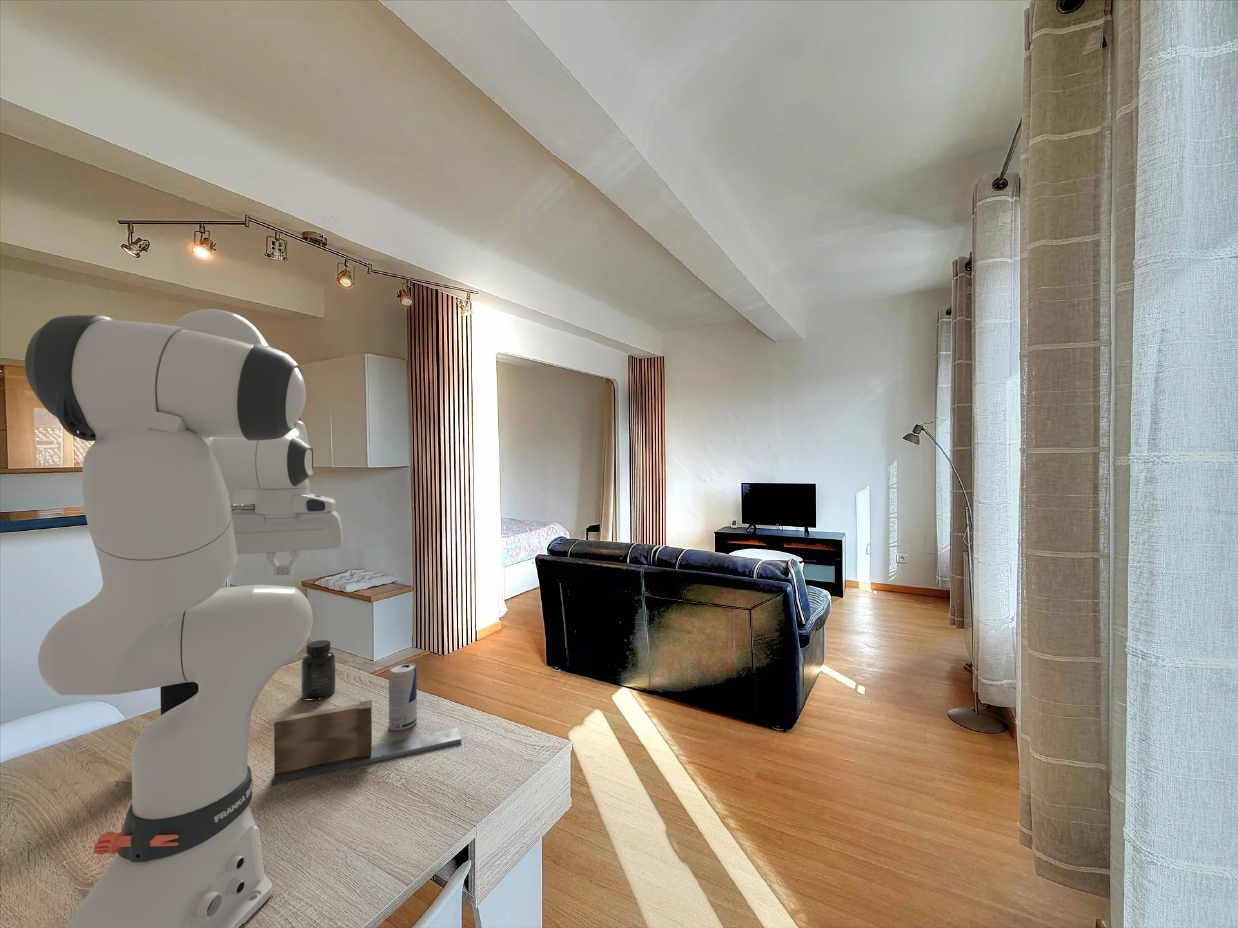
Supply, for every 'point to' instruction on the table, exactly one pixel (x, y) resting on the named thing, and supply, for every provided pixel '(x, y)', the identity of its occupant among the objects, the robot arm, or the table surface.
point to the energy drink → (402, 696)
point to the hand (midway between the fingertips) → (283, 574)
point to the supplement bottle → (318, 670)
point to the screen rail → (378, 754)
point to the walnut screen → (322, 737)
